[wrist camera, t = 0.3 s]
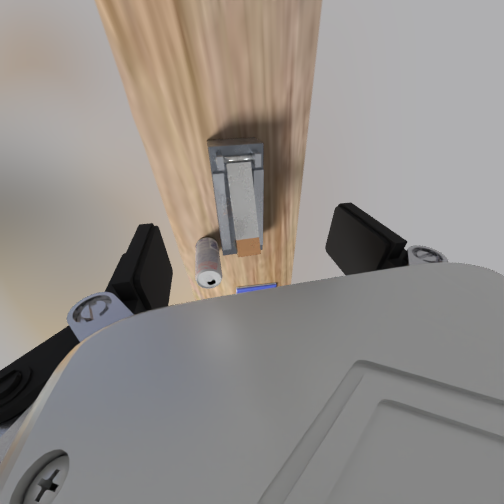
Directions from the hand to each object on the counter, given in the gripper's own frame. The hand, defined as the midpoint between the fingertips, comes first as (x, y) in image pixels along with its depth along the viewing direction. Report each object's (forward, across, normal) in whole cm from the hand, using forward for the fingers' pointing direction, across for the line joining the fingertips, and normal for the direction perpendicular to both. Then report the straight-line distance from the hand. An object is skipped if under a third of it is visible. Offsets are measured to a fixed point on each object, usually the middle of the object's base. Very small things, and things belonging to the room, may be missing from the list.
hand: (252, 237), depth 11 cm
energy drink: (+34, +4, +23) cm, 41 cm away
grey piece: (+34, -3, +11) cm, 36 cm away
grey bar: (+23, -3, +10) cm, 25 cm away
